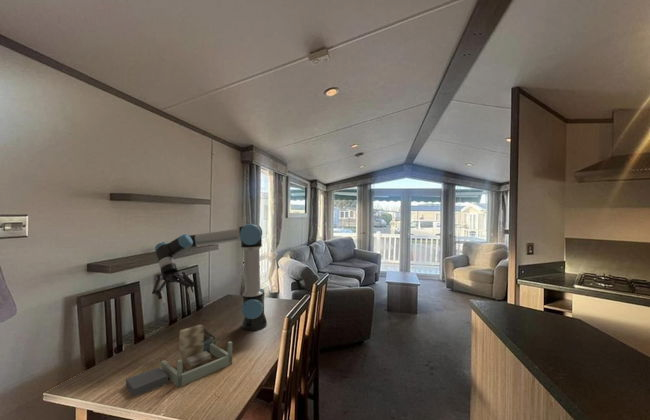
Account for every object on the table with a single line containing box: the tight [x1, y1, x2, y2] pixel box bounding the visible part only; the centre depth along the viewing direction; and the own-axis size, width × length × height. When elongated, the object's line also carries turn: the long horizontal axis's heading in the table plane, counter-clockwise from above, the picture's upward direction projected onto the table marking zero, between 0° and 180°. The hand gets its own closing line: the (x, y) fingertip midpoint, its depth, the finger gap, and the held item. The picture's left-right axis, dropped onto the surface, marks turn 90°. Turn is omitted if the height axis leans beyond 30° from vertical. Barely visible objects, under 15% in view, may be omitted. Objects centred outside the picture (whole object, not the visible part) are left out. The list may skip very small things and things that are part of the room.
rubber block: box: [125, 366, 169, 398], centre depth 114 cm, size 12×10×3 cm
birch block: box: [178, 323, 205, 368], centre depth 132 cm, size 10×3×16 cm, turn 139°
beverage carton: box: [203, 328, 217, 352], centre depth 150 cm, size 8×19×7 cm, turn 43°
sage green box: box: [160, 341, 233, 388], centre depth 128 cm, size 24×18×10 cm
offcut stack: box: [182, 351, 212, 373], centre depth 125 cm, size 11×6×6 cm, turn 139°
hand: (178, 301), depth 141 cm, fingers open, 13 cm apart
